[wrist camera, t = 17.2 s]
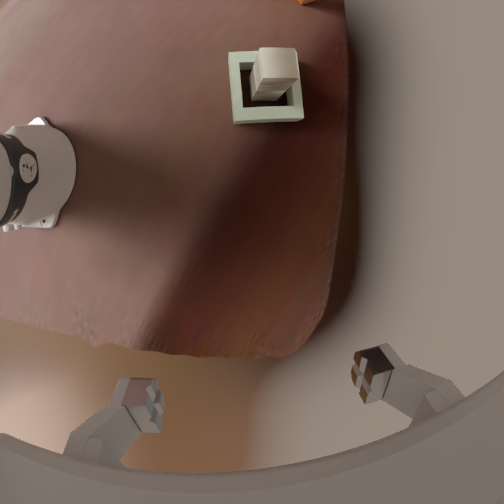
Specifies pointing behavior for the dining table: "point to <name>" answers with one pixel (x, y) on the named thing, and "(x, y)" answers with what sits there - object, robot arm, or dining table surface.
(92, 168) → the dining table surface
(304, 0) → the supplement box
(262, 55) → the peg
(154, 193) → the dining table surface
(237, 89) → the block
